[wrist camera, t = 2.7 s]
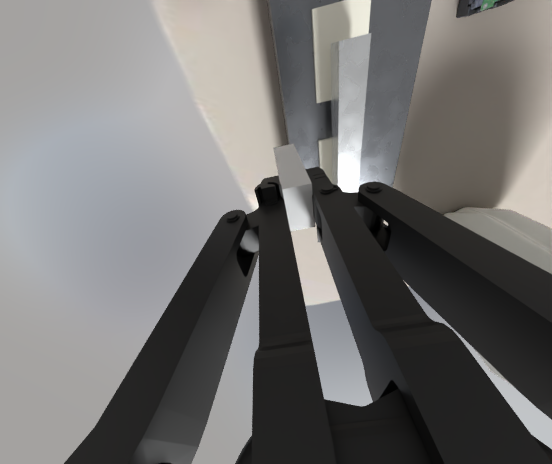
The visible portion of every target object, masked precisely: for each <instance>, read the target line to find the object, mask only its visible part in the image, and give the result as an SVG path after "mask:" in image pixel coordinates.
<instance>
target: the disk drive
mask: <svg viewBox="0 0 552 464" xmlns="http://www.w3.org/2000/svg"><path fill="white" fill-rule="evenodd" d="M511 1H513V0H460V2H459V6H458V11H457V16H456V17H457V18H460V17H466V16H470V15H473V14H475V13H479V12H481V11H484V10H487V9H492V8H495V7H498V6H502V5H504V4H507V3H508V2H511Z"/></svg>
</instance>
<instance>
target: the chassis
mask: <svg viewBox="0 0 552 464" xmlns="http://www.w3.org/2000/svg"><path fill="white" fill-rule="evenodd" d="M340 1H344V0H267V4H268V11H269V18H270V25H271V31H272V38H273V45H274V52H275V59H276V66H277V72H278V79H279V86H280V93H281V100H282V106H283V113H284V120H285V127H286V134H287V141H288V145H289V144H294V146H295V148H296V150H297V152H298V155H299V157H300V159H301V161H302V163H303V165H304V168H305V169H309V168H314V167H319V168H320V165H319V146H318V140H323V139H327V138H332V111H331V100H329V101H325V102H321V103H316V87H315V68H314V48H313V29H312V9H314V8H318V7H322V6H325V5H329V4H333V3H336V2H340ZM431 1H432V0H371V8H370V20H369V33H371V42H370V54H369V66H368V78H367V89H366V101H365V113H364V125H363V136H362V148H361V160H360V172H359V183H358V188H359V186H360V185H362V184H364V183H367V182H381V183H384V184H386V185H388V186H390V187H393V182H394V177H395V173H396V168H397V163H398V158H399V153H400V149H401V144H402V139H403V134H404V130H405V125H406V120H407V115H408V111H409V106H410V101H411V96H412V91H413V87H414V82H415V77H416V72H417V68H418V63H419V58H420V53H421V48H422V44H423V39H424V34H425V29H426V25H427V20H428V15H429V10H430V5H431ZM369 33H368V34H369Z"/></svg>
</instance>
